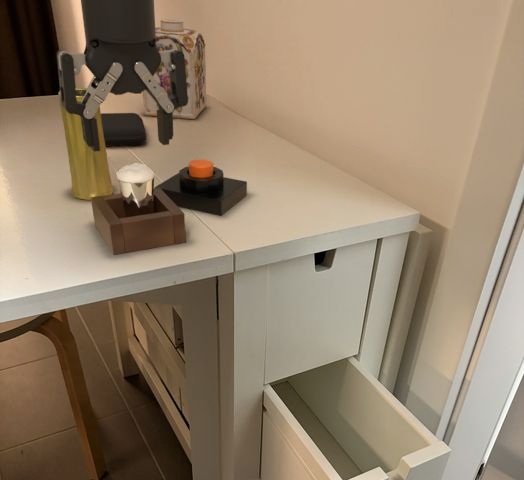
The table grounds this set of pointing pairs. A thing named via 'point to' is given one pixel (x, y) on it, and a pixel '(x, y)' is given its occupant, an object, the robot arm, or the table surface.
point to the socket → (138, 223)
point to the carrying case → (123, 129)
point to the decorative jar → (194, 65)
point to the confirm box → (204, 191)
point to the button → (201, 168)
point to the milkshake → (136, 189)
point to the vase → (86, 156)
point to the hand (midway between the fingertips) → (130, 146)
